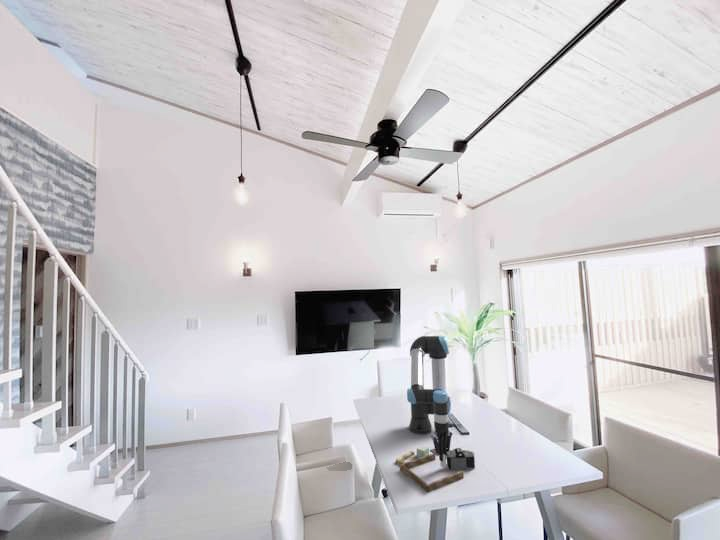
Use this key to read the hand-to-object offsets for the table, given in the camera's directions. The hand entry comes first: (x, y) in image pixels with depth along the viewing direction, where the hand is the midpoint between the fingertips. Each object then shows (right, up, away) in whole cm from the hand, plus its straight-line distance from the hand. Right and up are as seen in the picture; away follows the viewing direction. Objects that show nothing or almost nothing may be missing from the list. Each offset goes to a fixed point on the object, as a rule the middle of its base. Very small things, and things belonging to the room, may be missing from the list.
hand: (443, 466), depth 176 cm
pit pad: (+2, -3, +19) cm, 20 cm away
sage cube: (-8, -3, +14) cm, 16 cm away
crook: (-17, -3, +10) cm, 20 cm away
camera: (+10, -2, +3) cm, 10 cm away
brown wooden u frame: (-7, -2, -4) cm, 8 cm away
